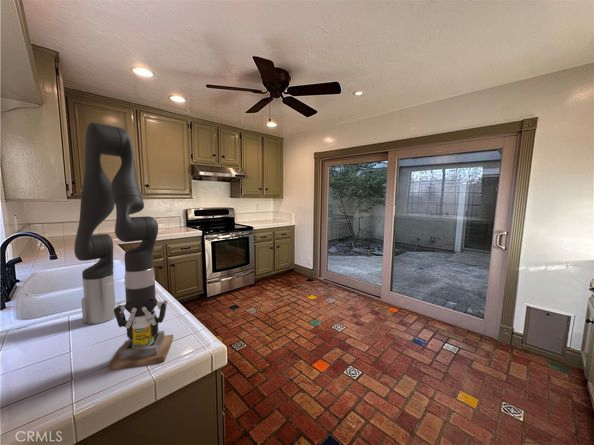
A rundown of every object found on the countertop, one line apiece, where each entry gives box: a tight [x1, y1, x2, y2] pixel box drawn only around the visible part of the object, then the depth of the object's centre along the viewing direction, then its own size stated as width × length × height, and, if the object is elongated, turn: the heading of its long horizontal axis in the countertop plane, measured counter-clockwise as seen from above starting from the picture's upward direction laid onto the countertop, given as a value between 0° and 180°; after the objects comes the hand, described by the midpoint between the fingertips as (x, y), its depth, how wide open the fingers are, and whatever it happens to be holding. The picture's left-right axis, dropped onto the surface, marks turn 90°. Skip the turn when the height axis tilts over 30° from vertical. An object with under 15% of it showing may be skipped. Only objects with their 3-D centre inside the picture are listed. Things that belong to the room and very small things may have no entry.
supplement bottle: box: [132, 315, 154, 348], centre depth 74 cm, size 5×5×10 cm
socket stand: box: [107, 330, 174, 371], centre depth 75 cm, size 14×12×4 cm
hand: (143, 336), depth 75 cm, fingers closed on supplement bottle, 5 cm apart
